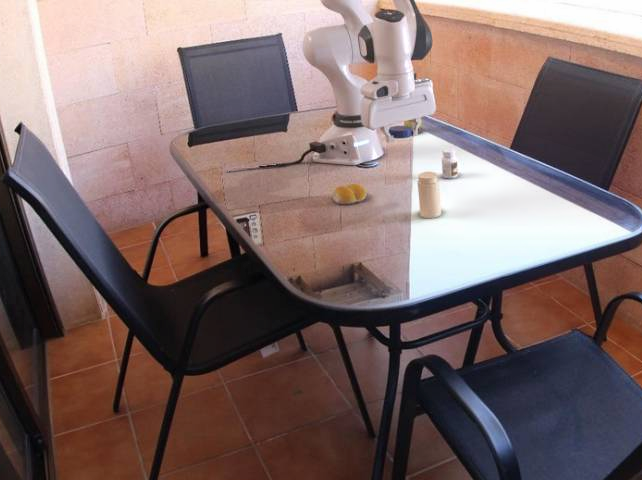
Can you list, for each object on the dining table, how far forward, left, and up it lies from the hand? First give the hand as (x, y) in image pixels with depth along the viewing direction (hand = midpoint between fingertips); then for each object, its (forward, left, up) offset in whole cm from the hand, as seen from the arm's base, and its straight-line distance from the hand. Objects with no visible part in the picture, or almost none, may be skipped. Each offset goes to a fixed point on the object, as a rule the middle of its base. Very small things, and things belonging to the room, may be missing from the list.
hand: (402, 138), depth 169 cm
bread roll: (-17, +1, -17) cm, 24 cm away
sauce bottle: (-12, +60, -17) cm, 63 cm away
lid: (0, +1, +2) cm, 2 cm away
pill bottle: (+8, +19, -17) cm, 27 cm away
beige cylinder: (+8, -8, -17) cm, 20 cm away
